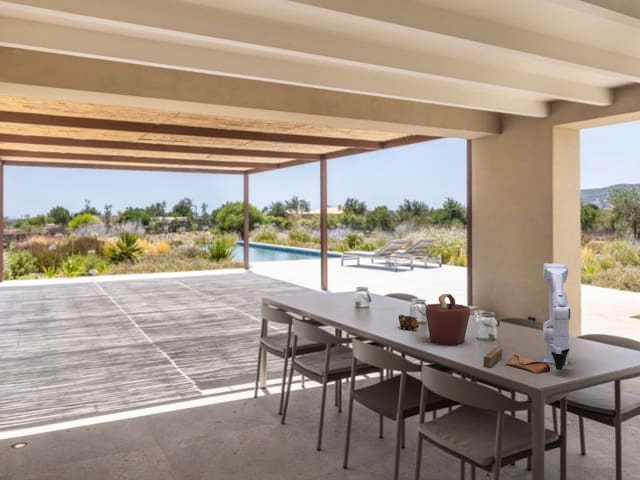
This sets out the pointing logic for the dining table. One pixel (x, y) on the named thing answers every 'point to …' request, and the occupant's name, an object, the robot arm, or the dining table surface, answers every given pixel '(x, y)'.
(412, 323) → the decorative turtle
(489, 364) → the stop bar
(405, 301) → the dining table surface
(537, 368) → the sunglasses case
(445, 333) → the bucket
